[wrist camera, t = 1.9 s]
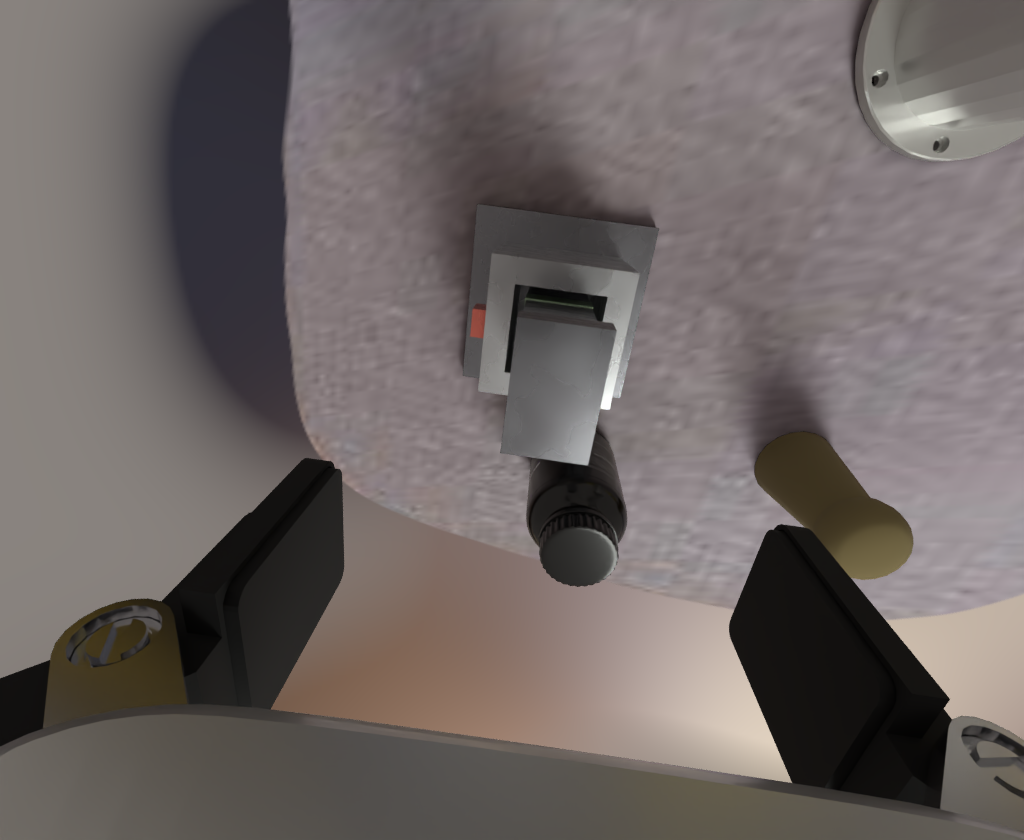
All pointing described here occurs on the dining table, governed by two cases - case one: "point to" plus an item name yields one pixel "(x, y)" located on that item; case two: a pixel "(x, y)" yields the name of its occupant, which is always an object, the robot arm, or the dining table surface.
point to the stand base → (551, 283)
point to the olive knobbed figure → (834, 505)
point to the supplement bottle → (577, 515)
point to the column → (556, 377)
